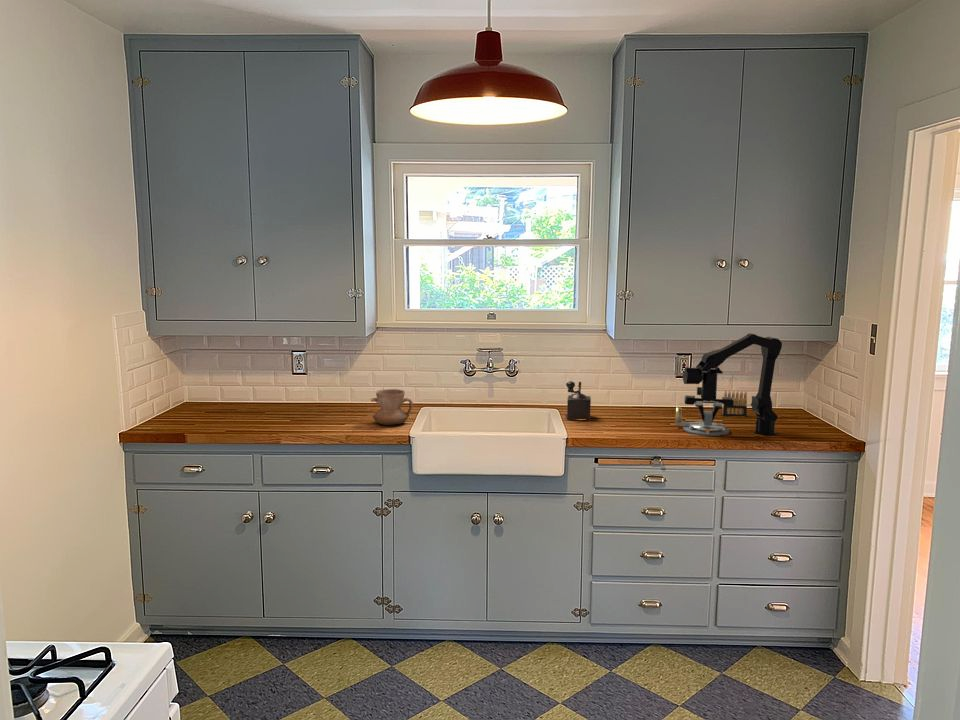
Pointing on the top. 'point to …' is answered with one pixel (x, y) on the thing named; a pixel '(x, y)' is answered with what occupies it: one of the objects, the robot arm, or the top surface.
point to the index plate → (703, 433)
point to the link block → (708, 418)
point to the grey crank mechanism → (697, 424)
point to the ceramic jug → (391, 407)
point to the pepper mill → (577, 403)
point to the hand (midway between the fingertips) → (707, 421)
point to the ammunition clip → (735, 405)
